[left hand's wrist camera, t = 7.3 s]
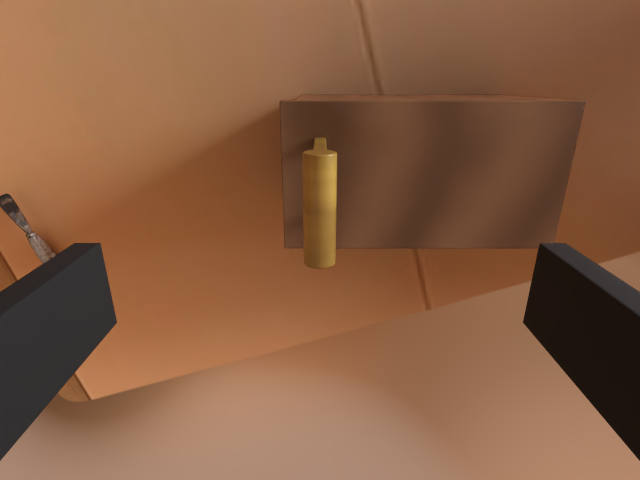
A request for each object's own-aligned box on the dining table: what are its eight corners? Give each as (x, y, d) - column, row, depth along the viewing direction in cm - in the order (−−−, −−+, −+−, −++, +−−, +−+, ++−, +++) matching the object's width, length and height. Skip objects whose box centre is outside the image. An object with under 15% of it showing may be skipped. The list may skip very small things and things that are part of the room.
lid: (285, 243, 28) (272, 304, 20) (281, 100, 25) (263, 108, 17) (545, 243, 28) (630, 304, 20) (576, 100, 25) (691, 108, 17)
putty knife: (56, 266, 41) (46, 274, 39) (2, 196, 38) (-12, 201, 36) (65, 262, 40) (54, 270, 39) (10, 191, 38) (-3, 196, 36)
